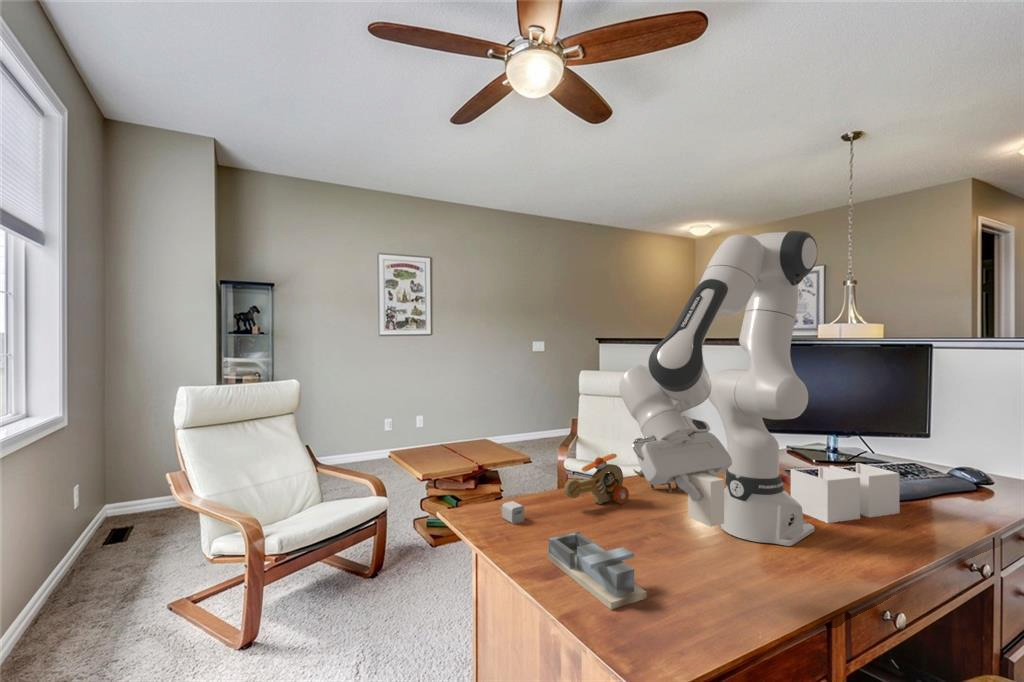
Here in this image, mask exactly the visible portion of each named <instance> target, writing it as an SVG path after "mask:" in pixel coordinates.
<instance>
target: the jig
mask: <svg viewBox="0 0 1024 682" xmlns="http://www.w3.org/2000/svg"><path fill="white" fill-rule="evenodd" d="M546 556H547V560H548V561H550V562H551V563H553V564H554V565H555V566H556V567H557V568H558V569H560V570H561V571H562V572H563V573H564V574H566V575H567V576H568V577H570V578H571V579H573V581H575V583H577V584H579V586H581V587H582V588H583V589H584V590H586V591H587V592H588V593H590V594H591V595H592V596H593V597H595V598H596V599H597V600H598V601H599V602H601V604H603V605H605V607H607V608H608V609H609V610H610V611H611V610H614V609H618V608H621V607H624V606H627V605H630V604H633V603H636V602H640V601H642V600H646V599H647V597H648V591H647V590H646V589H643V588H642V587H641V586H639V585H638V584H636V583H635V568H633V567H631V566H630V565H628V564H627V563H626V562H624V561H626V560H630V559H633V558H634V557H635V552H633V551H631V550H630V549H627V548H626V547H624V546H622V547H618V548H617V547H616V548H614V549H609V550H605V549H604V548H602V547H601V546H600V545H598V544H597V543H596V542H594V541H592V540H591V539H590V538H588V537H587V536H585V535H583V534H582V533H580V532H579V531H575V532H571V533H567V534H566V533H565V534H562V535H557V536H553V537H549V538H548V552H547V555H546Z"/></svg>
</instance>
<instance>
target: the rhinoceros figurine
mask: <svg viewBox="0 0 1024 682" xmlns="http://www.w3.org/2000/svg"><path fill="white" fill-rule="evenodd" d="M633 471H634V473H635V474H637V475H638V477H639V478H645V476H644V474H643V472H642V469H641V468H640V471H638V470H636V469H634V468H633ZM645 479H646V478H645ZM671 484H672V483H665V484H660V485H659V486H665V485H667V486H668V487H667V488H668V494H671V493H673V489H672V485H671ZM674 484H675V490H676V491H677V490H678V491H679V492H680V491H682V489H681V488H680V487H678V485H677V483H676V482H674ZM650 486H651V487H650V489H651V488H653V490H655V488H654V486H655V485H652V484H650Z"/></svg>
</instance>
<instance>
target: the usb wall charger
mask: <svg viewBox="0 0 1024 682" xmlns="http://www.w3.org/2000/svg"><path fill="white" fill-rule="evenodd" d="M498 508H499V509H498V510H500V511H501V518H502V519H503V520H505V521H507V522H508V523H511V524H512V525H514V524H518V523H522V522H524V521H525V505H522V504H519V503H518V502H515V501H514V500H513V501H512V500H511V501H508V502H504V503H503V504H502V505H501V506H499V507H498ZM521 521H522V522H521Z"/></svg>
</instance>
